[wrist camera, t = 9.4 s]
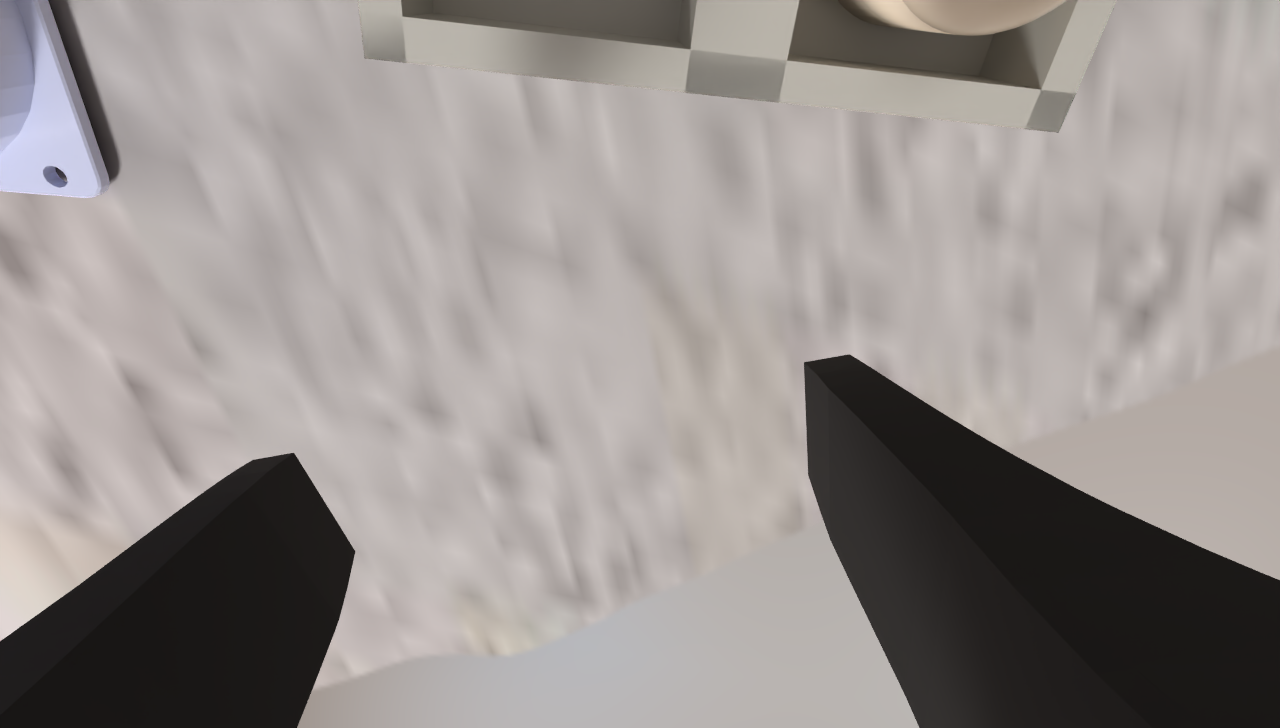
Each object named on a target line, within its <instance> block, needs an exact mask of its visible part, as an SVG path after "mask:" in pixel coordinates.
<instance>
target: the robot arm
mask: <svg viewBox="0 0 1280 728" xmlns="http://www.w3.org/2000/svg"><path fill="white" fill-rule="evenodd" d="M55 167H57V168H59V169H60V170H61V171H63V172H64V174H65V175H66V177H67V182H65V181H64V180H62V179H61V178H60V177H59V176H58V174H57V173H56V169H55ZM109 185H110V183H109V176H108V173H107V170H106V168H105V165H104V162H103V159H102V156H101V153H100V150H99V147H98V144H97V141H96V138H95V136H94V133H93V130H92V127H91V124H90V121H89V118H88V115H87V112H86V109H85V106H84V103H83V101H82V98H81V95H80V92H79V89H78V86H77V83H76V80H75V77H74V74H73V71H72V69H71V66H70V63H69V60H68V57H67V54H66V51H65V48H64V45H63V42H62V39H61V37H60V34H59V31H58V28H57V25H56V22H55V19H54V16H53V13H52V10H51V7H50V4H49V2H48V0H0V191H6V192H18V193H30V194H43V195H55V196H67V197H80V198H91V197H95V196H98V195H100V194H102V193H104V192H105V191H107V190H108V187H109ZM804 373H805V400H806V426H807V452H808V475H809V478H810V481H811V484H812V487H813V490H814V493H815V496H816V499H817V502H818V505H819V508H820V511H821V514H822V517H823V520H824V523H825V526H826V529H827V531H828V534H829V537H830V540H831V541H832V544H833V546H834V548H835V550H836V552H837V554H838V557H839V559H840V561H841V563H842V565H843V567H844V569H845V571H846V573H847V576H848V578H849V580H850V582H851V584H852V586H853V588H854V590H855V592H856V594H857V597H858V598H859V601H860V603H861V605H862V607H863V609H864V611H865V613H866V615H867V617H868V619H869V621H870V623H871V625H872V628H873V630H874V632H875V634H876V636H877V638H878V640H879V642H880V644H881V646H882V648H883V650H884V652H885V654H886V656H887V658H888V661H889V663H890V665H891V667H892V669H893V671H894V673H895V675H896V677H897V679H898V681H899V683H900V685H901V688H902V690H903V692H904V694H905V696H906V698H907V700H908V703H909V705H910V707H911V709H912V712H913V714H914V716H915V719H916V721H917V723H918V725H919V728H1280V580H1278V579H1275V578H1273V577H1270V576H1268V575H1265V574H1263V573H1260V572H1258V571H1256V570H1253V569H1251V568H1248V567H1246V566H1244V565H1241V564H1239V563H1237V562H1234V561H1232V560H1230V559H1227V558H1225V557H1223V556H1220V555H1218V554H1216V553H1213V552H1211V551H1209V550H1206V549H1204V548H1201V547H1199V546H1197V545H1195V544H1193V543H1191V542H1188V541H1186V540H1184V539H1182V538H1180V537H1178V536H1175V535H1173V534H1171V533H1169V532H1167V531H1164V530H1162V529H1160V528H1158V527H1156V526H1154V525H1151V524H1149V523H1147V522H1145V521H1143V520H1141V519H1138V518H1136V517H1134V516H1132V515H1130V514H1127V513H1125V512H1123V511H1121V510H1119V509H1117V508H1115V507H1112V506H1110V505H1109V504H1106V503H1104V502H1102V501H1100V500H1098V499H1096V498H1094V497H1092V496H1090V495H1088V494H1086V493H1084V492H1082V491H1080V490H1078V489H1076V488H1074V487H1072V486H1070V485H1069V484H1067V483H1065V482H1063V481H1061V480H1059V479H1057V478H1056V477H1054V476H1052V475H1050V474H1048V473H1046V472H1044V471H1043V470H1041V469H1039V468H1037V467H1035V466H1033V465H1031V464H1029V463H1027V462H1026V461H1024V460H1022V459H1020V458H1018V457H1016V456H1014V455H1013V454H1011V453H1009V452H1007V451H1006V450H1004V449H1002V448H1000V447H999V446H997V445H995V444H993V443H992V442H990V441H988V440H986V439H985V438H983V437H981V436H980V435H978V434H976V433H974V432H973V431H971V430H969V429H968V428H966V427H964V426H963V425H961V424H959V423H958V422H956V421H954V420H953V419H951V418H949V417H948V416H946V415H945V414H943V413H941V412H940V411H938V410H936V409H935V408H933V407H932V406H930V405H928V404H927V403H925V402H924V401H922V400H920V399H919V398H917V397H916V396H914V395H913V394H911V393H909V392H908V391H906V390H905V389H903V388H902V387H900V386H899V385H897V384H895V383H894V382H892V381H891V380H889V379H888V378H886V377H885V376H883V375H881V374H880V373H878V372H877V371H875V370H874V369H872V368H871V367H869V366H867V365H866V364H864V363H863V362H861V361H859V360H858V359H856V358H854V357H853V356H851V355H843V356H838V357H832V358H826V359H821V360H815V361H810V362H804ZM354 555H355V550H354V549H353V547H352V545H351V544H350V542H349V541H348V539H347V537H346V536H345V534H344V533H343V531H342V529H341V528H340V526H339V525H338V523H337V521H336V520H335V518H334V516H333V515H332V513H331V512H330V510H329V508H328V507H327V505H326V504H325V502H324V500H323V499H322V497H321V496H320V494H319V492H318V491H317V489H316V488H315V486H314V484H313V483H312V481H311V479H310V478H309V476H308V475H307V473H306V471H305V470H304V468H303V467H302V465H301V463H300V462H299V460H298V459H297V457H296V455H295V454H294V453H290V454H284V455H279V456H273V457H268V458H262V459H256V460H252V461H251V462H249V463H247V464H246V465H244V466H242V467H241V468H239V469H237V470H236V471H234V472H233V473H231V474H230V475H228V476H227V477H225V478H224V479H222V480H221V481H219V482H218V483H216V484H215V485H213V486H212V487H211V488H209V489H208V490H206V491H205V492H204V493H202V494H201V495H199V496H198V497H197V498H195V499H194V500H192V501H191V502H190V503H188V504H187V505H186V506H184V507H183V508H182V509H180V510H179V511H177V512H176V513H175V514H173V515H172V516H171V517H169V518H168V519H167V520H165V521H164V522H163V523H161V524H160V525H159V526H157V527H156V528H155V529H153V530H152V531H151V532H149V533H148V534H147V535H145V536H144V537H143V538H141V539H140V540H139V541H137V542H136V543H135V544H133V545H132V546H131V547H129V548H128V549H127V550H125V551H124V552H123V553H121V554H120V555H119V556H117V557H116V558H115V559H113V560H112V561H111V562H109V563H108V564H107V565H105V566H104V567H103V568H101V569H100V570H99V571H97V572H96V573H95V574H93V575H92V576H90V577H89V578H88V579H86V580H85V581H84V582H82V583H81V584H80V585H78V586H77V587H76V588H74V589H73V590H71V591H70V592H69V593H67V594H66V595H64V596H63V597H62V598H60V599H59V600H57V601H56V602H55V603H53V604H52V605H50V606H49V607H48V608H46V609H45V610H43V611H42V612H41V613H39V614H38V615H37V616H35V617H34V618H32V619H31V620H30V621H28V622H27V623H25V624H24V625H23V626H21V627H20V628H18V629H17V630H16V631H14V632H13V633H11V634H10V635H9V636H7V637H6V638H4V639H3V640H2V641H0V728H297V726H298V723H299V721H300V719H301V716H302V714H303V711H304V709H305V706H306V704H307V701H308V699H309V696H310V694H311V691H312V689H313V686H314V684H315V681H316V679H317V676H318V673H319V671H320V668H321V666H322V663H323V660H324V658H325V655H326V653H327V650H328V647H329V645H330V642H331V640H332V637H333V634H334V632H335V629H336V626H337V623H338V621H339V617H340V614H341V610H342V606H343V602H344V598H345V595H346V591H347V587H348V582H349V578H350V573H351V568H352V564H353V559H354Z"/></svg>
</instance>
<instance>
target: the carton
mask: <svg viewBox="0 0 1280 728" xmlns="http://www.w3.org/2000/svg"><path fill="white" fill-rule="evenodd" d="M1116 1H1117V0H1067V1H1066V2H1064V3H1063V4H1061V5H1060V6H1058V7H1057V8H1055V9H1054V10H1052V11H1050V12H1048V13H1047V14H1045V15H1043V16H1041V17H1039V18H1037V19H1035V20H1033V21H1032V22H1030V23H1027V24H1024V25H1022V26H1019V27H1017V28H1014V29H1010V30H1007V31H1002V32H998V33H994V34H987V35H975V36H968V35H953V34H945V33H936V32H927V31H919V30H910V29H901V28H893V27H884V26H878V25H873V24H870V23H867V22H865V21H862V20H860V19H858V18H857V17H855V16H853V15H852V14H851V13H849V12H848V11H847V10H846V9H845V8H844V7H843V6H842V5H841V4H840V3H839V1H838V0H358V8H359V16H360V25H361V33H362V42H363V50H364V58H365V59H375V60H384V61H394V62H403V63H412V64H422V65H431V66H440V67H450V68H459V69H468V70H478V71H487V72H496V73H506V74H515V75H524V76H534V77H543V78H553V79H562V80H571V81H581V82H590V83H599V84H609V85H618V86H627V87H637V88H646V89H655V90H665V91H674V92H683V93H693V94H702V95H711V96H721V97H730V98H740V99H749V100H758V101H768V102H777V103H786V104H796V105H805V106H814V107H824V108H833V109H842V110H852V111H861V112H870V113H880V114H889V115H899V116H908V117H917V118H927V119H936V120H945V121H955V122H964V123H973V124H983V125H992V126H1001V127H1011V128H1020V129H1029V130H1039V131H1048V132H1057V133H1059V131H1060V128H1061V126H1062V124H1063V122H1064V119H1065V117H1066V115H1067V112H1068V110H1069V108H1070V106H1071V103H1072V101H1073V99H1074V96H1075V94H1076V92H1077V90H1078V87H1079V85H1080V83H1081V81H1082V78H1083V76H1084V74H1085V71H1086V69H1087V67H1088V65H1089V62H1090V60H1091V58H1092V55H1093V53H1094V51H1095V49H1096V46H1097V44H1098V42H1099V39H1100V37H1101V35H1102V33H1103V30H1104V28H1105V26H1106V23H1107V21H1108V19H1109V17H1110V14H1111V12H1112V10H1113V7H1114V5H1115V3H1116Z"/></svg>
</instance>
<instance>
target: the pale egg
mask: <svg viewBox="0 0 1280 728" xmlns="http://www.w3.org/2000/svg"><path fill="white" fill-rule="evenodd" d="M838 1H839V3H840V4H841V5H842V6H843V7H844V8H845V9H846V10H847V11H848V12H849V13H851V14H852V15H853V16H855V17H857V18H858V19H860V20H862V21H865V22H867V23H870V24H873V25H878V26H884V27H893V28H901V29H910V30H919V31H927V32H936V33H945V34H953V35H968V36H975V35H987V34H994V33H998V32H1002V31H1007V30H1010V29H1014V28H1017V27H1019V26H1022V25H1024V24H1027V23H1030V22H1032V21H1033V20H1035V19H1037V18H1039V17H1041V16H1043V15H1045V14H1047V13H1048V12H1050V11H1052V10H1054V9H1055V8H1057V7H1058V6H1060V5H1061V4H1063V3H1064V2H1066V1H1067V0H838Z"/></svg>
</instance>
